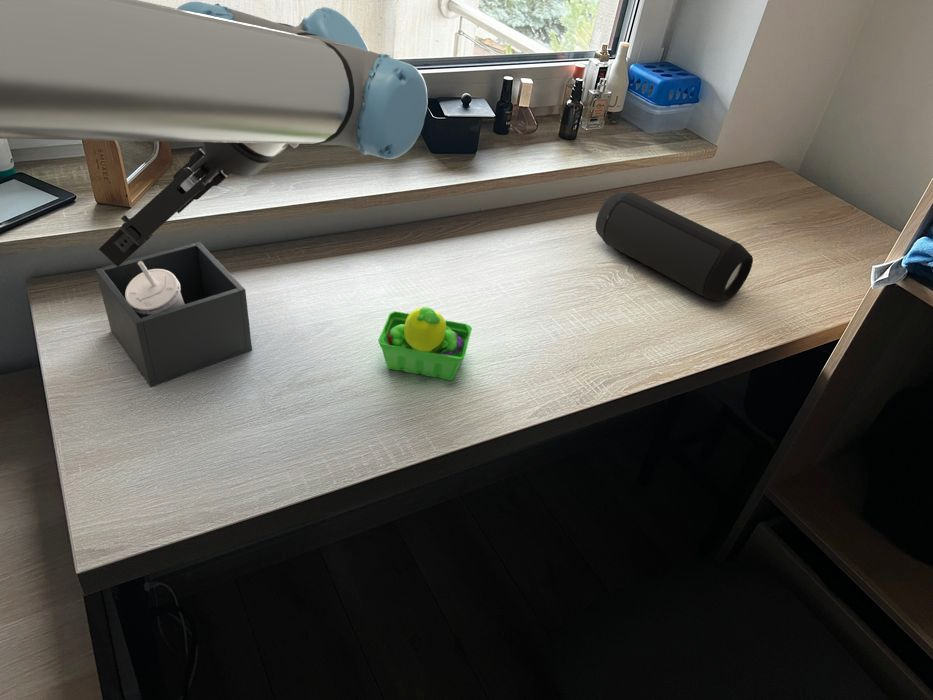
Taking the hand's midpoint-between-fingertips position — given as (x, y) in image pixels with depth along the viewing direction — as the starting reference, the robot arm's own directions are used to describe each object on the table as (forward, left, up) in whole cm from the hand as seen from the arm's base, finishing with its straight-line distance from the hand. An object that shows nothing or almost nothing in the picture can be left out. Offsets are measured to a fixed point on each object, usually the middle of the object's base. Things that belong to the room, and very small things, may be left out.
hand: (142, 229), depth 87 cm
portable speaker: (+76, -26, -17) cm, 82 cm away
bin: (+2, -2, -17) cm, 17 cm away
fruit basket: (+26, -24, -17) cm, 39 cm away
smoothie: (+1, -2, -15) cm, 15 cm away
